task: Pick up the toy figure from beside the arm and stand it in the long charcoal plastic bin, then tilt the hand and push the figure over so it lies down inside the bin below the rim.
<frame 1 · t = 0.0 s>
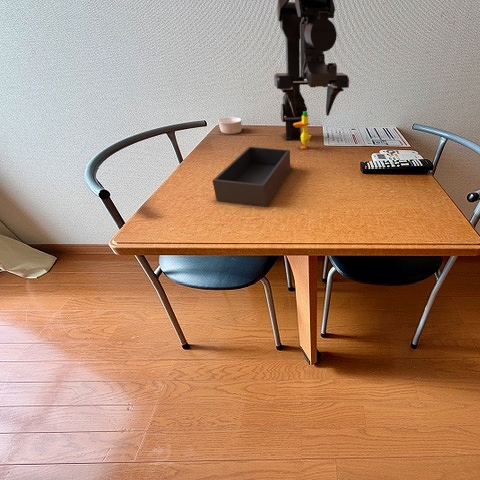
hand: (311, 116, 79), 15 cm above the table, tool pointing down, fingers open, 9 cm apart
toy figure: (303, 148, 100), on the table
bin: (257, 182, 78), on the table
ramekin: (231, 131, 113), on the table
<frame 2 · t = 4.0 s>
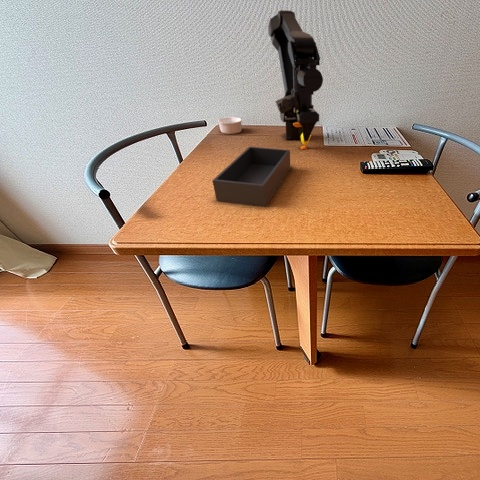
hand: (303, 137, 98), 4 cm above the table, tool pointing down, fingers closed on toy figure, 7 cm apart
toy figure: (303, 148, 100), on the table, touching gripper
everything else where it was.
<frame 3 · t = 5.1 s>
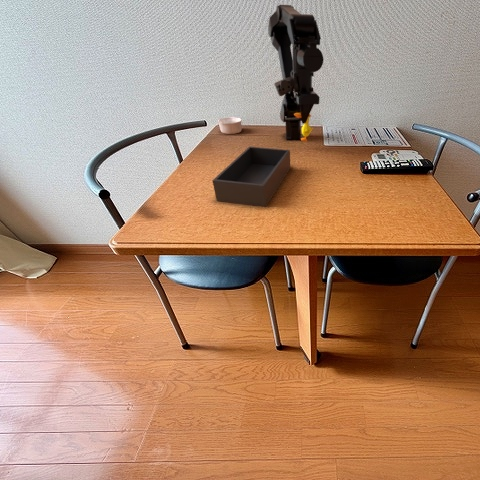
hand: (302, 122, 95), 9 cm above the table, tool pointing down, fingers closed on toy figure, 2 cm apart
toy figure: (303, 140, 99), point 3 cm above the table, touching gripper
everything else where it was.
when the fingers open (6 cm above the table, at t = 8.9 s): toy figure stays where it is, resting on bin.
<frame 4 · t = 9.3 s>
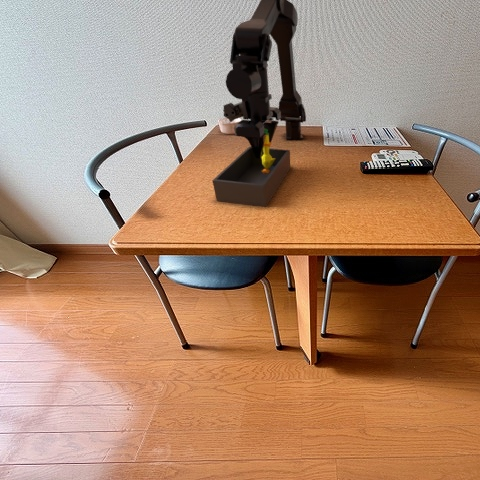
hand: (262, 153, 79), 6 cm above the table, tool pointing down, fingers open, 7 cm apart
toy figure: (265, 172, 83), resting on bin
everything else where it was.
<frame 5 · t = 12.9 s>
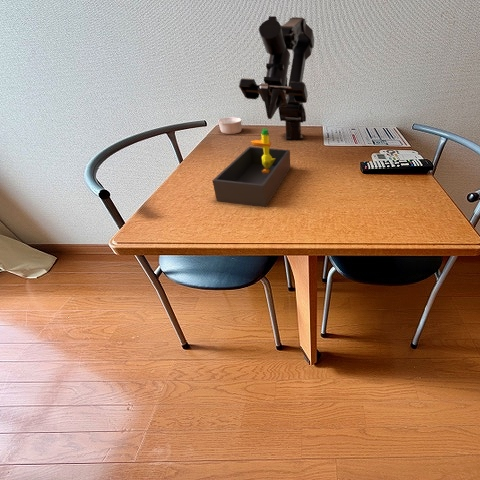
hand: (269, 118, 81), 13 cm above the table, tool tilted 45°, fingers closed
nothing on the table moved.
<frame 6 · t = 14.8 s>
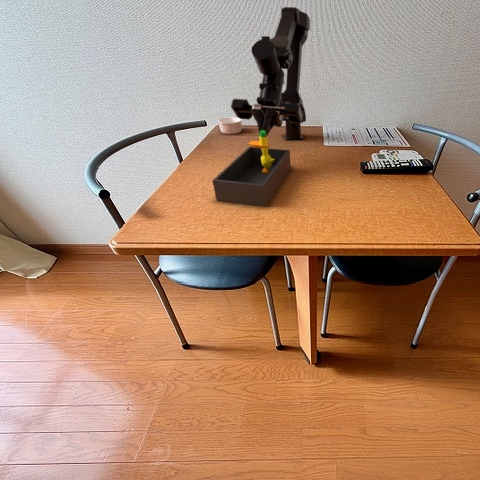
hand: (262, 139, 77), 10 cm above the table, tool tilted 45°, fingers closed, pressing on toy figure
toy figure: (265, 171, 83), resting on bin, touching gripper
everything else where it was.
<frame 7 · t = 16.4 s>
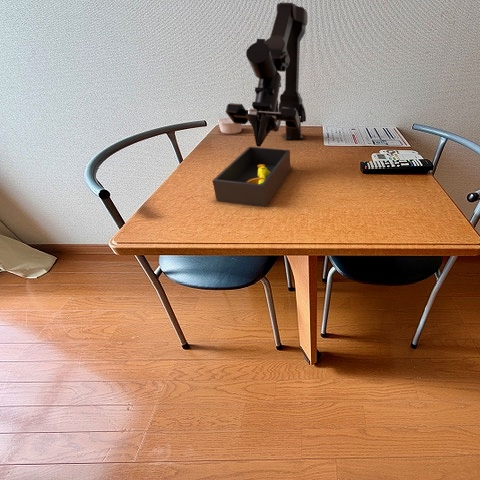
hand: (258, 145, 75), 9 cm above the table, tool tilted 45°, fingers closed
toy figure: (261, 167, 81), point 2 cm above the table, touching bin
everything else where it was.
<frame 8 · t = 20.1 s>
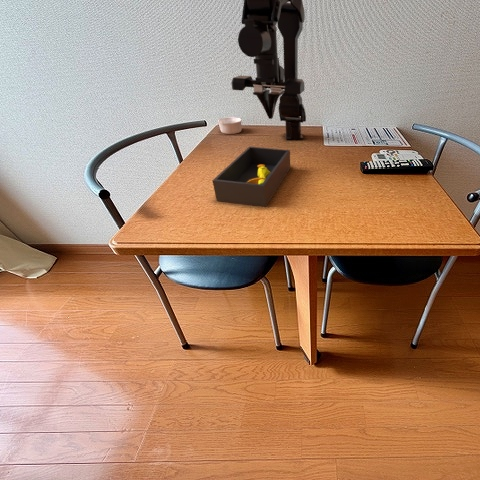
hand: (270, 118, 82), 13 cm above the table, tool pointing down, fingers closed
nothing on the table moved.
at the end: toy figure tilted 93°; toy figure inside the target area in the bin (2.5 cm from its centre), point 2.4 cm above the bin's base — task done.
